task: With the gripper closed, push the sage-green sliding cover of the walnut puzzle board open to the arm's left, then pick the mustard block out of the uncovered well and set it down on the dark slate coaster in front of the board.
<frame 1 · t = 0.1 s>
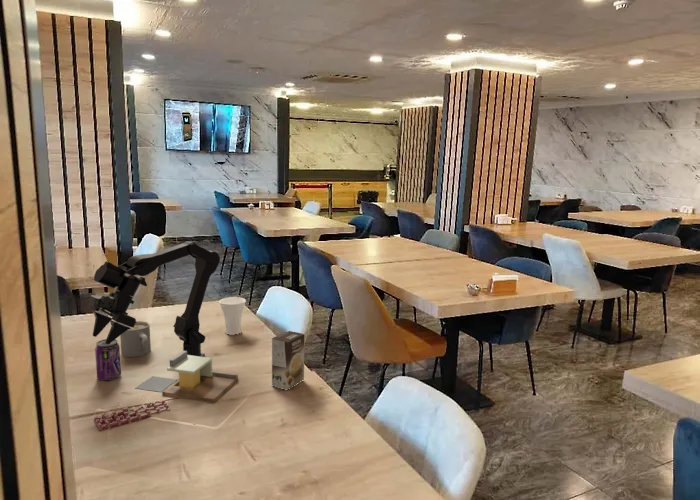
hand: (100, 340, 159), 15 cm above the table, tool tilted 30°, fingers open, 9 cm apart
beverage can: (109, 377, 168), on the table
coaster: (156, 385, 163), on the table
block: (190, 385, 162), resting on board
food box: (288, 384, 166), on the table
cup: (233, 333, 211), on the table
board: (201, 388, 161), on the table
lid: (190, 369, 162), point 6 cm above the table, slide at 0.0 cm
chocolate bar: (134, 417, 145), on the table
coffee mug: (137, 353, 188), on the table
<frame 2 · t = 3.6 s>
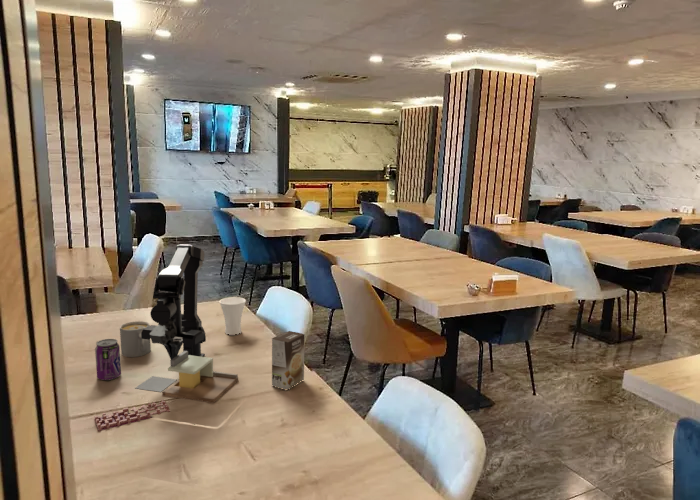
hand: (173, 360, 162), 8 cm above the table, tool pointing down, fingers closed
lid: (191, 369, 162), point 6 cm above the table, slide at 0.3 cm, touching gripper
everything else where it was.
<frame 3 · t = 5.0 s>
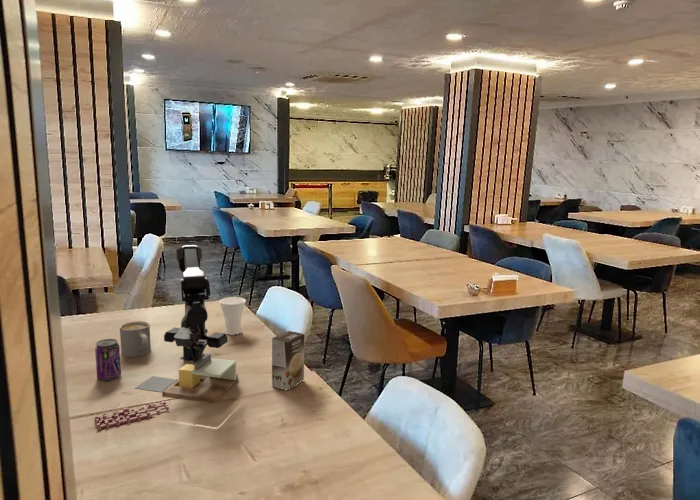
hand: (196, 363, 160), 8 cm above the table, tool pointing down, fingers closed
lid: (214, 372, 160), point 6 cm above the table, slide at 8.4 cm, touching gripper
everything else where it was.
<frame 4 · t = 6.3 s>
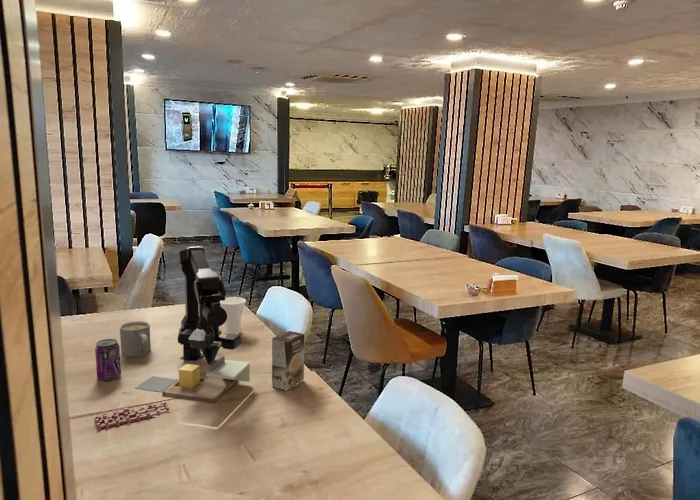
hand: (210, 365, 159), 8 cm above the table, tool pointing down, fingers closed
lid: (228, 374, 159), point 6 cm above the table, slide at 13.0 cm, touching gripper
everything else where it was.
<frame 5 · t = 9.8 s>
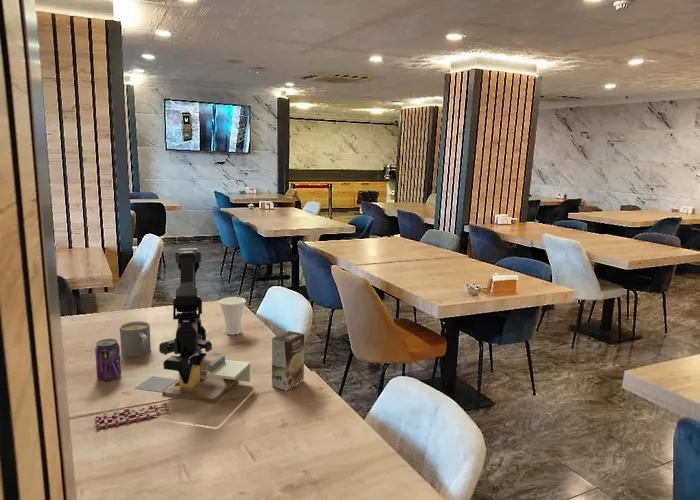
hand: (189, 380, 162), 2 cm above the table, tool pointing down, fingers closed on block, 4 cm apart
block: (190, 385, 162), resting on board, touching gripper
lid: (228, 374, 159), point 6 cm above the table, slide at 13.2 cm
everything else where it was.
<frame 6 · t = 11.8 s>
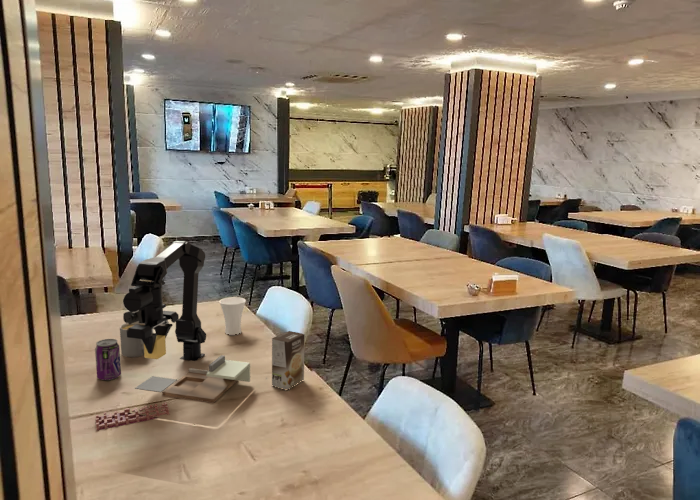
hand: (155, 350, 161), 12 cm above the table, tool pointing down, fingers closed on block, 4 cm apart
block: (155, 355, 161), point 10 cm above the table, touching gripper
when the fingers open (3 cm above the table, at t = 13.6 s): block stays where it is, resting on coaster.
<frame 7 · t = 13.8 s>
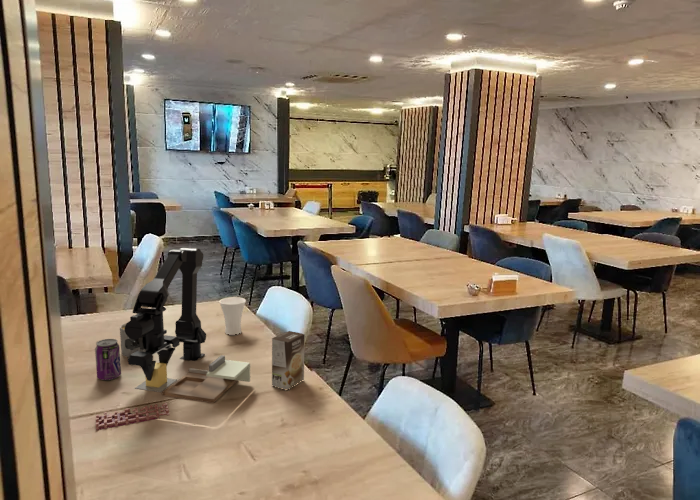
hand: (156, 375, 162), 3 cm above the table, tool pointing down, fingers open, 7 cm apart
block: (156, 383, 163), point 1 cm above the table, touching coaster
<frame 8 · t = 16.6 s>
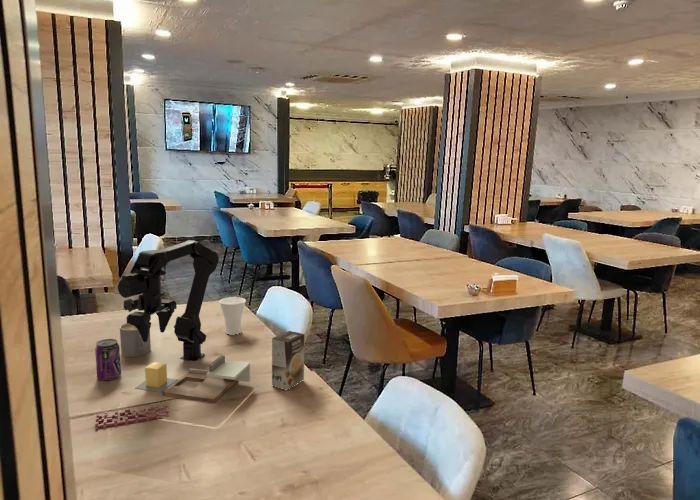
hand: (153, 336, 168), 13 cm above the table, tool pointing down, fingers open, 9 cm apart
at the end: lid slide at 13.2 cm; block inside the target area on the coaster (0.1 cm from its centre), point 0.6 cm above the coaster's base; block tilted 0° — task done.
